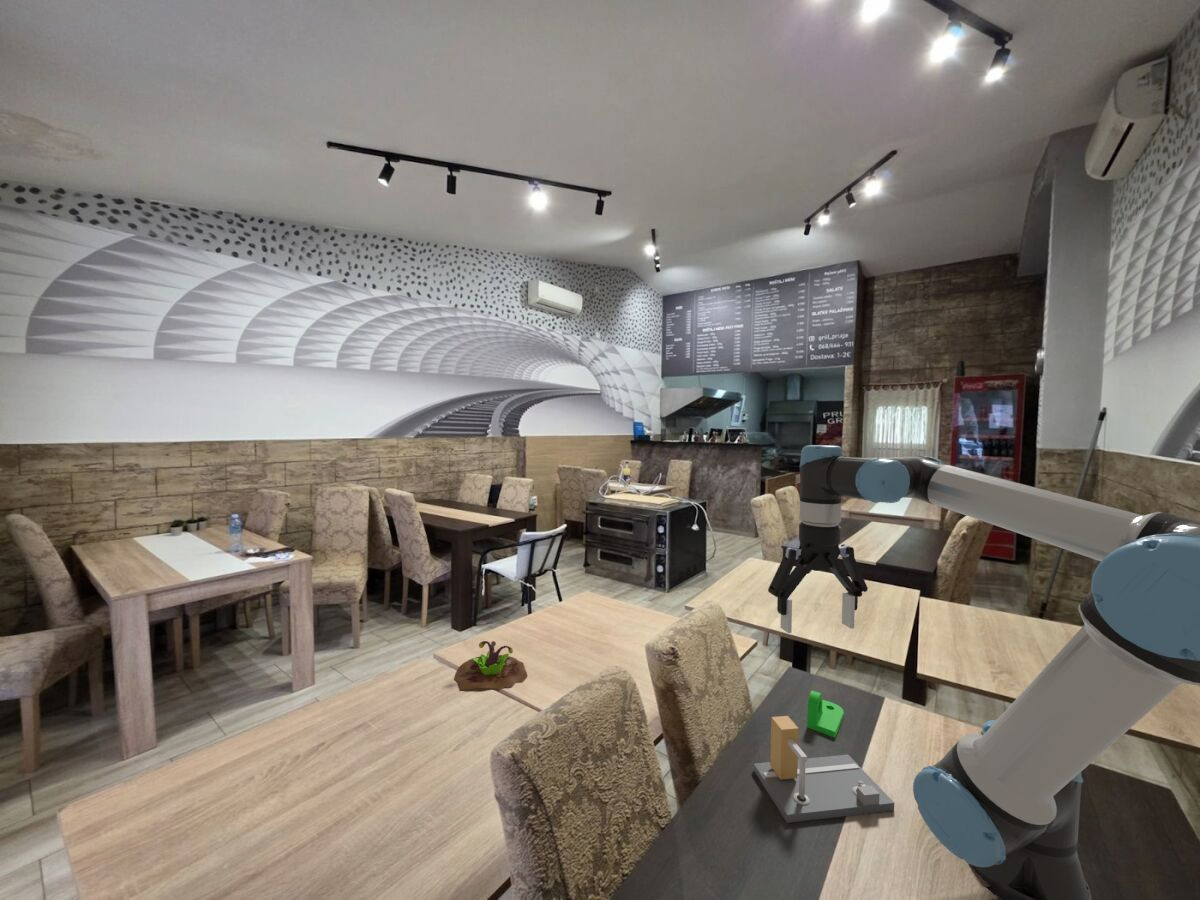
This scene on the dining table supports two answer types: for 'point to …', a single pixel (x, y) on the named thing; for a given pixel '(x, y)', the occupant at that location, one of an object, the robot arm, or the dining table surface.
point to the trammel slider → (787, 751)
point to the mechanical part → (823, 715)
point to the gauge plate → (824, 790)
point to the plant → (490, 671)
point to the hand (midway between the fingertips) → (817, 628)
